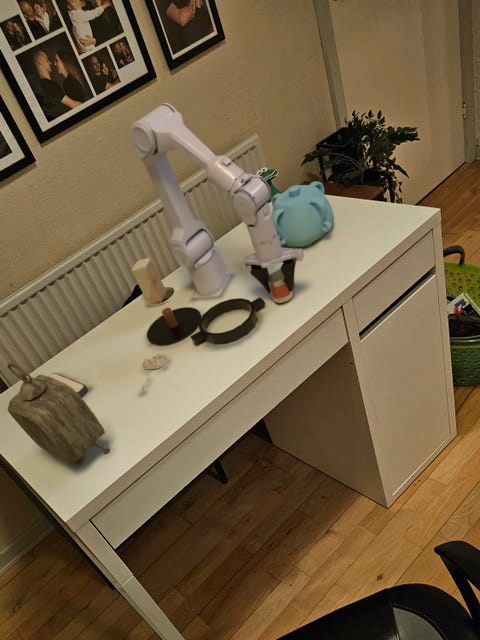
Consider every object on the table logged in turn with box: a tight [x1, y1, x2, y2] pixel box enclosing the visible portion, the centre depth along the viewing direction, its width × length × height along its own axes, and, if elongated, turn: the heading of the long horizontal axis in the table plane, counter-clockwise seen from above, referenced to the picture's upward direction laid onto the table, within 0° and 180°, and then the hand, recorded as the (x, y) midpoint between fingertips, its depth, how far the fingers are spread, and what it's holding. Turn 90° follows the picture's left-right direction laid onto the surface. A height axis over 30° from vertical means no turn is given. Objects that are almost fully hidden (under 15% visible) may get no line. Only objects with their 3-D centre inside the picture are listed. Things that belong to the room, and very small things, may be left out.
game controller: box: [141, 353, 168, 391], centre depth 124 cm, size 6×12×3 cm, turn 2°
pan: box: [190, 296, 266, 346], centre depth 127 cm, size 14×19×3 cm
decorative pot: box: [270, 181, 335, 248], centre depth 142 cm, size 16×16×14 cm
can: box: [267, 269, 294, 304], centre depth 126 cm, size 5×5×6 cm
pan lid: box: [146, 306, 203, 347], centre depth 134 cm, size 15×15×6 cm
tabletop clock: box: [6, 361, 110, 463], centre depth 105 cm, size 14×9×25 cm, turn 52°
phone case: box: [47, 372, 88, 398], centre depth 132 cm, size 9×2×16 cm
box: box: [130, 257, 167, 305], centre depth 146 cm, size 5×4×11 cm
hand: (281, 289), depth 127 cm, fingers closed on can, 5 cm apart
